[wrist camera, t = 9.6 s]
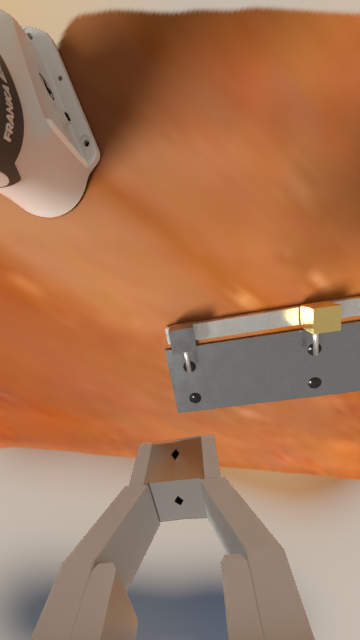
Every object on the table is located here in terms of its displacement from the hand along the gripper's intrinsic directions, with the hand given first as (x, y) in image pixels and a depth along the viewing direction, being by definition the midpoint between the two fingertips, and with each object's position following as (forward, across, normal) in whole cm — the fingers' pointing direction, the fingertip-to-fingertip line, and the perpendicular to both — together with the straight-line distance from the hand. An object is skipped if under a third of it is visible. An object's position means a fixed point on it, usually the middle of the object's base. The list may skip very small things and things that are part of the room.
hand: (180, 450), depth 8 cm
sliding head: (+26, -21, +7) cm, 34 cm away
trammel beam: (+28, -13, +7) cm, 32 cm away
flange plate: (+28, -13, +15) cm, 34 cm away
